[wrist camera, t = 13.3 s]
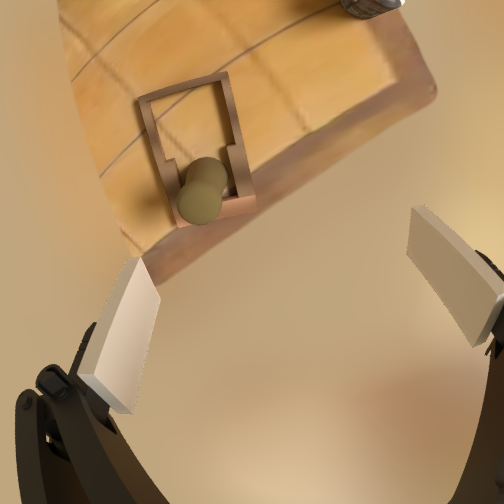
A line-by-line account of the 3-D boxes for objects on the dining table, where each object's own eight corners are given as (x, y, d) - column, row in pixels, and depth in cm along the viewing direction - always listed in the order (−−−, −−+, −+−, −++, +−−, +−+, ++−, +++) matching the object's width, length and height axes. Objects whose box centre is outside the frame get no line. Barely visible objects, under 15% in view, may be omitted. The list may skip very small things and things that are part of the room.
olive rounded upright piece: (186, 197, 41) (172, 233, 31) (185, 157, 37) (167, 182, 28) (228, 197, 41) (225, 233, 32) (228, 156, 38) (225, 181, 29)
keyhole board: (140, 96, 32) (137, 97, 31) (227, 71, 31) (227, 71, 30) (180, 223, 43) (178, 228, 42) (257, 206, 42) (258, 210, 41)
